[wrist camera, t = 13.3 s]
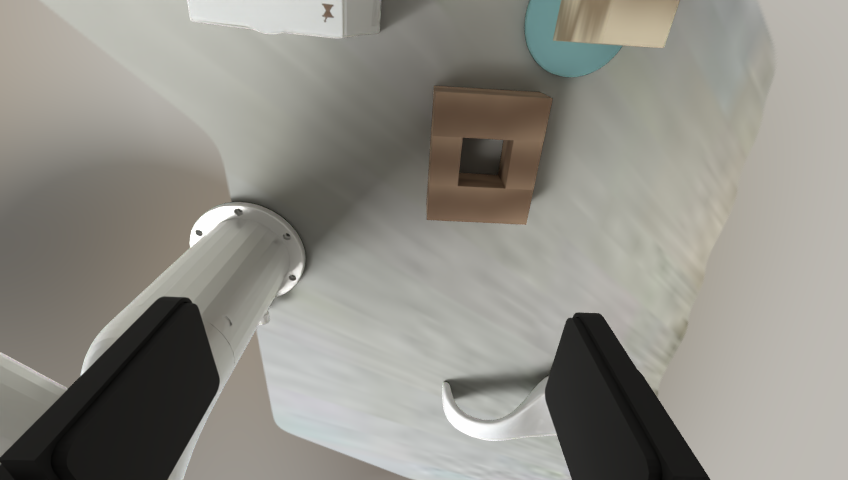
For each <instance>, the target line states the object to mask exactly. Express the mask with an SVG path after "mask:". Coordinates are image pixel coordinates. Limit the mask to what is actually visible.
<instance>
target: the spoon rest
mask: <svg viewBox="0 0 848 480" xmlns="http://www.w3.org/2000/svg"><path fill="white" fill-rule="evenodd" d="M548 378H549V376H547V377H545V378H544V379H543V380H542V381H541V382H540V383H539V384H538V385H537V386H536V387H535V388H534V389H533V390H532V392H531V393H530V394H529V395H528V396H527V398H526V399H525V400H524V401H523V402H522V403H521V404H520V405H519V406H518V407H517V408H516V409H515V410H514V411H513V412H511V413H510V414H509V415H507V416H505V417H503V418H500V419H497V420H481V419H477V418H474V417H471V416H469V415H467V414H466V413H464V412H463V411H462V410H461V409H460V408H459V407H458V406H457V405H456V403H455V401H454V398H453V395H452V392H451V388H450V385H449V383H447V382H443V384H442V400H443V408H444V412H445V414H446V417H447V419H448V420H449V421H450V423H451V424H452V425H453V426H454V427H455V428H457V429H458V430H460V431H461V432H463V433H465V434H467V435H470V436H472V437H475V438H479V439H483V440H490V441H502V440H509V439H517V438H524V437H535V436H550V435H557V433H556V431H555V428H554V425H553V422H552V419H551V416H550V413H549V410H548V407H547V404H546V400H545V387H546V384H547V381H548Z"/></svg>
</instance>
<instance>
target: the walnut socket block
mask: <svg viewBox="0 0 848 480" xmlns="http://www.w3.org/2000/svg"><path fill="white" fill-rule="evenodd" d="M552 100H553V98H551V97H549V96H547V95H545V94H543V93H541V92H531V91H514V90H497V89H480V88H463V87H446V86H434V94H433V110H432V125H431V141H430V157H429V172H428V188H427V203H426V205H427V220H441V221H462V222H483V223H504V224H525V225H526V223H527V218H528V213H529V209H530V204H531V199H532V194H533V190H534V185H535V180H536V175H537V171H538V166H539V161H540V157H541V152H542V147H543V142H544V138H545V133H546V128H547V123H548V119H549V114H550V109H551V105H552ZM463 138H479V139H497V140H503V146H502V152H501V159H500V165H499V171H498V175H493V174H473V173H459V168H460V159H461V149H462V140H463Z"/></svg>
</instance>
